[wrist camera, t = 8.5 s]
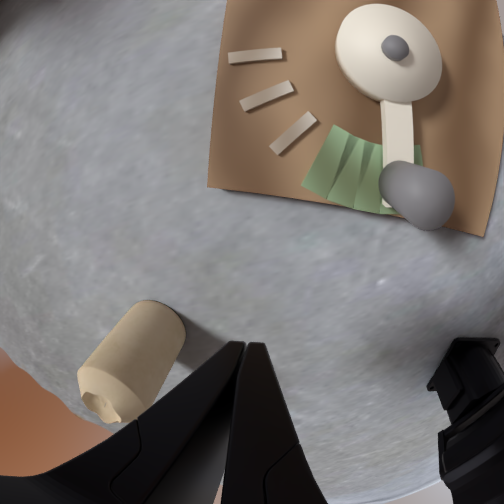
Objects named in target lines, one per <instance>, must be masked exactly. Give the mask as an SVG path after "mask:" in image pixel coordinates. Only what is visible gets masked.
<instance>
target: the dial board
mask: <svg viewBox="0 0 504 504" xmlns="http://www.w3.org/2000/svg"><path fill="white" fill-rule="evenodd" d="M368 4H385V5H390V6H394V7H397V8H399V9H402V10H404V11H406V12H408V13H409V14H411V15H412V16H414V17H415V18H417V19H418V20H419V21H420V22H421V23H422V24H423V25H424V26H425V27H426V28H427V29H428V30H429V32H430V33H431V34H432V36H433V38H434V39H435V41H436V43H437V45H438V48H439V50H440V54H441V58H442V73H441V77H440V80H439V82H438V84H437V86H436V87H435V89H434V90H433V91H432V92H431V93H430V94H429V95H427V96H425V97H424V98H421V99H419V100H415V101H411V102H412V117H413V141H414V164H416V165H420V166H423V167H426V168H430V169H433V170H436V171H439V172H441V173H442V174H444V175H445V176H446V177H447V178H448V179H449V181H450V182H451V184H452V186H453V189H454V194H455V204H454V209H453V212H452V214H451V216H450V218H449V219H448V220H447V222H446V223H445V224H444V225H442V227H446V228H450V229H454V230H458V231H462V232H466V233H470V234H474V235H478V236H482V237H483V236H484V233H485V229H486V226H487V222H488V218H489V214H490V210H491V206H492V202H493V197H494V193H495V188H496V183H497V177H498V171H499V165H500V159H501V151H502V143H503V133H504V47H503V38H502V30H501V23H500V17H499V11H498V6H497V1H496V0H227V5H226V11H225V18H224V25H223V32H222V39H221V46H220V54H219V62H218V71H217V79H216V88H215V98H214V108H213V118H212V129H211V141H210V153H209V167H208V182H207V187H209V188H219V189H228V190H236V191H244V192H252V193H260V194H268V195H275V196H282V197H289V198H296V199H302V200H309V201H315V202H321V203H327V204H333V205H339V206H345V207H349V208H351V209H352V208H353V209H356V210H361V211H366V212H372V213H377V214H387V215H392V216H397V217H402V218H404V217H403V216H402V215H401V214H400V213H398V212H397V211H396V210H395V209H394V208H393V207H385V206H384V205H383V204H382V196H381V194H380V192H379V187H378V180H379V176H380V173H381V171H382V170H383V142H382V120H381V105H380V102H378V101H375V100H373V99H371V98H369V97H367V96H365V95H364V94H362V93H361V92H359V91H358V90H357V89H356V88H354V87H353V86H352V85H351V84H350V83H349V81H348V80H347V79H346V78H345V76H344V75H343V73H342V71H341V70H340V67H339V65H338V63H337V60H336V55H335V41H336V37H337V34H338V31H339V29H340V26H341V24H342V22H343V20H344V19H345V17H346V16H347V15H348V14H349V13H350V12H351V11H353V10H354V9H356V8H358V7H361V6H364V5H368Z"/></svg>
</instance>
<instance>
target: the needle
mask: <svg viewBox="0 0 504 504" xmlns="http://www.w3.org/2000/svg"><path fill="white" fill-rule="evenodd" d="M335 55H336V60H337V63H338V65H339V67H340V70H341V71H342V73H343V75H344V76H345V78H346V79H347V80H348V81H349V83H350V84H351V85H352V86H353V87H354V88H356V89H357V90H358V91H359V92H361V93H362V94H364V95H365V96H367V97H369V98H371V99H373V100H375V101H378V102H380V105H381V120H382V142H383V170H382V171H381V173H380V176H379V180H378V187H379V192H380V194H381V196H382V204H383V205H384V206H385V207H393V208H394V209H395V210H396V211H397V212H398V213H400V214H401V215H402V216H403V217H404V218H406V219H407V220H408V221H409V222H410V223H411V224H412V225H414V226H415V227H417V228H418V229H421V230H426V231H429V230H435V229H437V228H439V227H441V226H442V225H444V224H445V223H446V222H447V220H448V219H449V218H450V216H451V214H452V212H453V209H454V204H455V194H454V189H453V186H452V184H451V182H450V181H449V179H448V178H447V177H446V176H445V175H444V174H442V173H441V172H439V171H436V170H433V169H430V168H426V167H423V166H420V165H416V164H414V141H413V117H412V102H411V101H415V100H419V99H421V98H424V97H425V96H427V95H429V94H430V93H431V92H432V91H433V90H434V89H435V87H436V86H437V84H438V82H439V80H440V77H441V73H442V58H441V54H440V50H439V48H438V45H437V43H436V41H435V39H434V38H433V36H432V34H431V33H430V32H429V30H428V29H427V28H426V27H425V26H424V25H423V24H422V23H421V22H420V21H419V20H418V19H417V18H415V17H414V16H412V15H411V14H409V13H408V12H406V11H404V10H402V9H399V8H397V7H394V6H390V5H385V4H368V5H364V6H361V7H358V8H356V9H354V10H353V11H351V12H350V13H349V14H348V15H347V16H346V17H345V19H344V20H343V22H342V24H341V26H340V29H339V31H338V34H337V37H336V41H335Z"/></svg>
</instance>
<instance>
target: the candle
mask: <svg viewBox="0 0 504 504" xmlns="http://www.w3.org/2000/svg"><path fill="white" fill-rule="evenodd" d="M185 338H186V331H185V327H184V325H183V322H182V321H181V319H180V318H179V316H178V315H177V314H176V313H175V312H174V311H173V310H172V309H170V308H169V307H167V306H166V305H164V304H162V303H159V302H156V301H152V300H143V301H140V302H138V303H136V304H135V305H133V306H132V307H131V309H130V310H129V311H128V312H127V313H126V314H125V315H124V316H123V317H122V319H121V320H120V321H119V322H118V323H117V324H116V326H115V327H114V328H113V329H112V330H111V331H110V333H109V334H108V335H107V336H106V337H105V338H104V340H103V341H102V342H101V343H100V344H99V346H98V347H97V348H96V349H95V350H94V352H93V353H92V354H91V355H90V357H89V358H88V359H87V360H86V361H85V363H84V364H83V365H82V366H81V368H80V369H79V370H78V374H77V376H78V382H79V387H80V392H81V399H82V400H83V402H84V404H85V406H86V407H87V408H88V409H89V410H91V411H93V412H95V413H97V414H98V415H99V417H100V418H101V419H102V421H104V422H105V423H109V424H110V423H116V422H119V423H121V422H124V423H130V422H131V421H133V420H134V419H137V417H138V416H139V415H141V414H142V413H143V412H144V411H146V410H147V409H148V408H149V407H151V406H152V404H153V402H154V400H155V398H156V397H157V395H158V393H159V391H160V389H161V387H162V385H163V383H164V381H165V379H166V377H167V375H168V373H169V371H170V370H171V368H172V366H173V364H174V362H175V360H176V358H177V356H178V354H179V352H180V350H181V348H182V346H183V344H184V342H185Z"/></svg>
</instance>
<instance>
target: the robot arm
mask: <svg viewBox="0 0 504 504" xmlns="http://www.w3.org/2000/svg"><path fill="white" fill-rule="evenodd" d="M457 343H458V344H457ZM499 345H500V341H499V339H486V338H456V339H455V340H454V341H453V342H452V344H451V346H450V348H449V350H448V351H447V353H446V355H445V357H444V358H443V360H442V362H441V364H440V365H439V367H438V369H437V370H436V372H435V374H434V375H433V377H432V378H431V380H430V381H429V383H428V385H427V390H428V391H437V393H438V396H439V398H440V401H441V404H442V407H443V409H444V410H447V413H448V416H449V419H450V422H451V425H450V426H449V427H448V428H446V429H445V430H442V431H440V432H439V433H438V450H439V473H440V477H441V480H443V481H444V483H445V484H446V486H447V487H448V488H449V489H450V490H451V493H452V498H453V504H504V372H503V370H502V368H501V367H500V365H499V363H498V362H497V360H496V358H495V357H494V354H495V352H496V350H497V349H498V347H499ZM224 470H225V473H224ZM223 473H224V481H223V489H222V497H221V504H328V503H327V501H326V500H325V498H324V496H323V494H322V492H321V490H320V488H319V487H318V485H317V483H316V481H315V479H314V477H313V474H312V472H311V470H310V467H309V465H308V463H307V460H306V458H305V455H304V452H303V449H302V447H301V445H300V444H299V439H298V436H297V433H296V431H295V428H294V425H293V422H292V419H291V417H290V414H289V411H288V408H287V405H286V402H285V400H284V397H283V394H282V391H281V388H280V385H279V382H278V380H277V377H276V374H275V371H274V368H273V365H272V362H271V359H270V356H269V354H268V351H267V348H266V345H265V343H261V342H250V343H249V344H248V346H246V343H245V342H243V341H229V342H228V343H227V344H225V345H224V346H223V347H222V348H221V349H220V350H218V351H217V352H216V353H215V354H214V355H213V356H211V357H210V358H209V359H208V360H207V361H206V362H204V363H203V364H202V365H201V366H200V367H199V368H197V369H196V370H195V371H194V372H193V373H191V374H190V375H189V376H188V377H187V378H185V379H184V380H183V381H182V382H181V383H179V384H178V385H177V386H176V387H174V388H173V389H172V390H171V391H170V392H168V393H167V394H166V395H165V396H163V397H162V398H161V399H160V400H158V401H157V402H156V403H155V404H153V405H152V406H151V407H149V408H148V409H147V410H146V411H144V412H143V413H142V414H141V415H139V416H138V417H137V419H134V420H133V421H131V422H130V423H129V424H127V425H126V426H125V427H123V428H122V429H121V430H119V431H118V432H116V433H115V434H114V435H112V436H111V437H109V438H108V439H106V440H105V441H103V442H102V443H100V444H98V445H96V446H95V447H93V448H91V449H90V450H88V451H86V452H84V453H82V454H81V455H79V456H77V457H75V458H73V459H71V460H69V461H67V462H65V463H63V464H61V465H60V466H58V467H56V468H53V469H51V470H49V471H47V472H45V473H42V474H38V475H34V476H26V477H17V476H1V475H0V504H213V502H214V499H215V496H216V493H217V491H218V488H219V485H220V482H221V479H222V476H223Z"/></svg>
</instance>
